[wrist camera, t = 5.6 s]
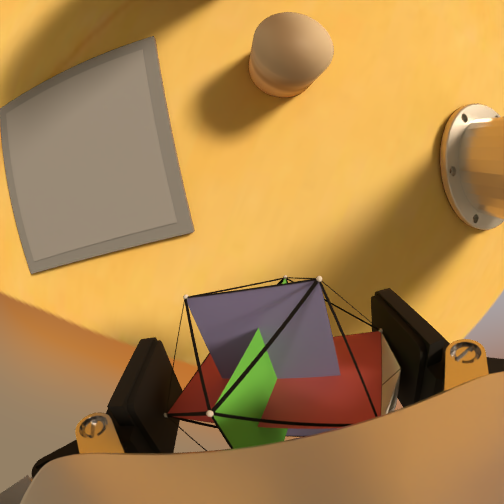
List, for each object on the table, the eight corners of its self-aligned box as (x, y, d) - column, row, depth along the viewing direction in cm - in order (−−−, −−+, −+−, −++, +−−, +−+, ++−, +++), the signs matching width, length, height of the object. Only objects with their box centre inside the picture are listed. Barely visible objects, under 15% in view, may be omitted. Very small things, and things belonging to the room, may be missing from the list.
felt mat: (155, 38, 18) (153, 35, 18) (194, 230, 23) (193, 232, 22) (3, 109, 18) (-2, 108, 18) (34, 271, 23) (30, 274, 22)
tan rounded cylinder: (305, 38, 19) (322, 11, 14) (320, 93, 21) (342, 75, 16) (242, 45, 19) (245, 16, 14) (256, 102, 21) (263, 83, 16)
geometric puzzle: (180, 441, 11) (305, 557, 5) (101, 315, 10) (210, 455, 3) (292, 358, 15) (433, 408, 9) (253, 236, 13) (434, 239, 7)
